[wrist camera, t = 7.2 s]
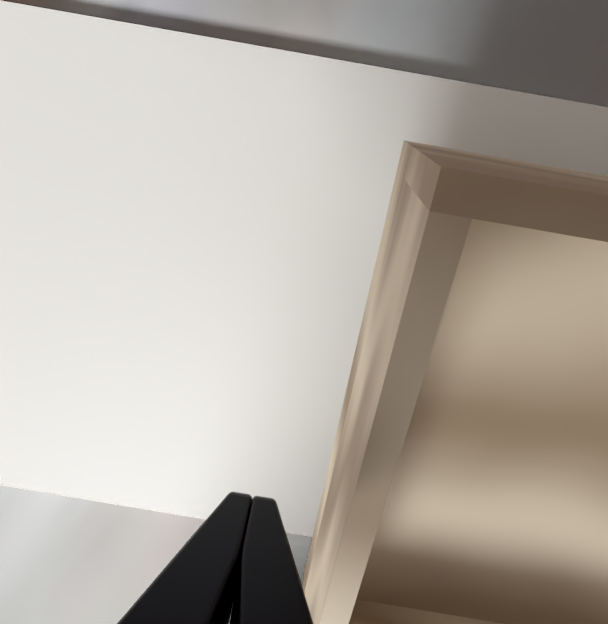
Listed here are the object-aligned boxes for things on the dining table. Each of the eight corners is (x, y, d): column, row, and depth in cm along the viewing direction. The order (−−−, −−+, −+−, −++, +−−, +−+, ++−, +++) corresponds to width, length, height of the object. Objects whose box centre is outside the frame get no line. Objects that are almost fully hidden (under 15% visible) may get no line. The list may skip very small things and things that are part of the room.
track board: (772, 607, 19) (781, 617, 19) (5, 479, 19) (-2, 487, 18) (1118, 197, 12) (1141, 200, 12) (-54, -9, 12) (-65, -12, 12)
